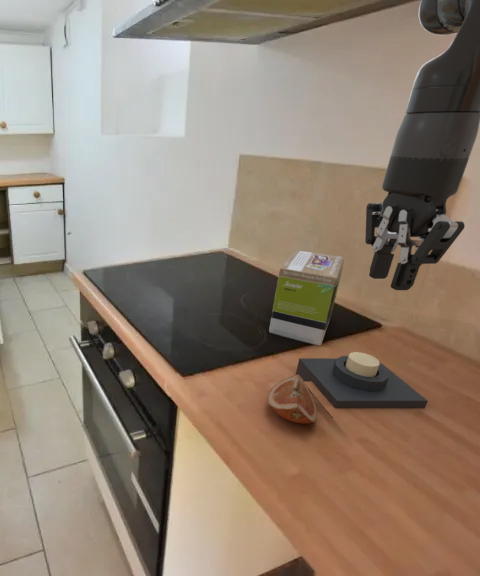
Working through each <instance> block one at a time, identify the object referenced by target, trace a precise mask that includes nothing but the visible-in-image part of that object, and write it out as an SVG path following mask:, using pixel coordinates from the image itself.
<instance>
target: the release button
mask: <svg viewBox="0 0 480 576" xmlns="http://www.w3.org/2000/svg"><path fill="white" fill-rule="evenodd" d="M347 356H348V359H347V362H346V368H347V369H348V370H349V371H351V372H353V373H355V374H357V375H361V376H365V377H375V376H376V374H377V371H378V368H379V365H380V362H381V361H379V359H378V358H377V357H375V356H373V355H371V354H368V353H365V352H361V351H353V352H350V353H349V354H348V355H347Z"/></svg>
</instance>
